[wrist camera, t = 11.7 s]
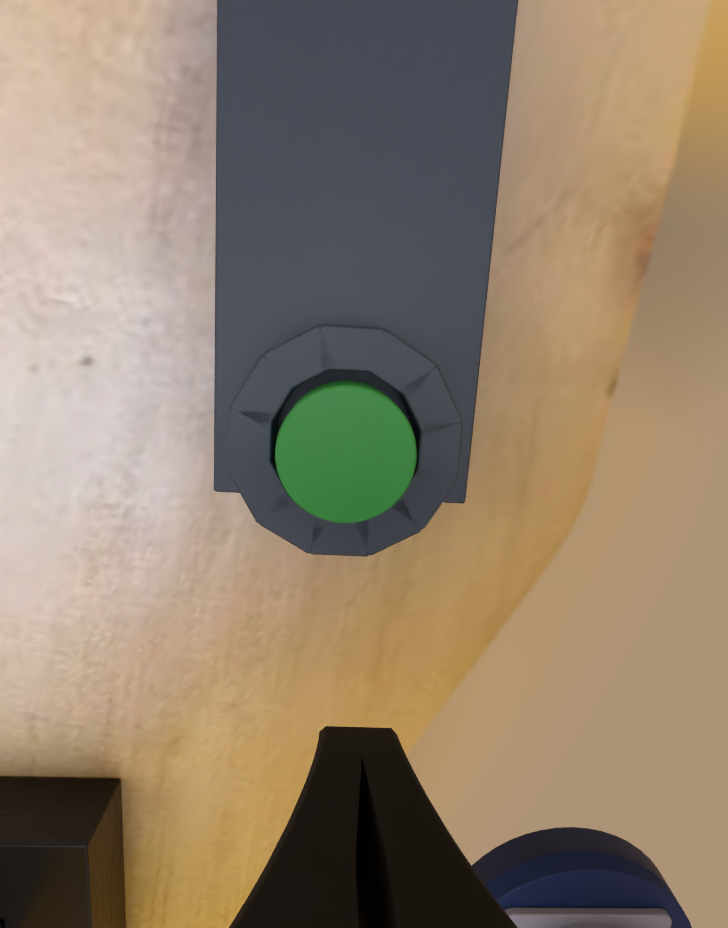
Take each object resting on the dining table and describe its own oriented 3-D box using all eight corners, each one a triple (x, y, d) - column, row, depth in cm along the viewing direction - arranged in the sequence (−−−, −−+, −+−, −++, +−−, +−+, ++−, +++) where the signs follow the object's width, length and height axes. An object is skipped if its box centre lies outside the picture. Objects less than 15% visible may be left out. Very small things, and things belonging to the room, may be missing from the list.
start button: (403, 507, 16) (411, 527, 14) (279, 502, 16) (272, 521, 14) (413, 384, 15) (422, 389, 14) (283, 376, 15) (277, 379, 13)
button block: (448, 520, 20) (475, 562, 16) (226, 509, 20) (199, 550, 16) (506, -68, 16) (560, -199, 12) (233, -99, 16) (200, -245, 12)
